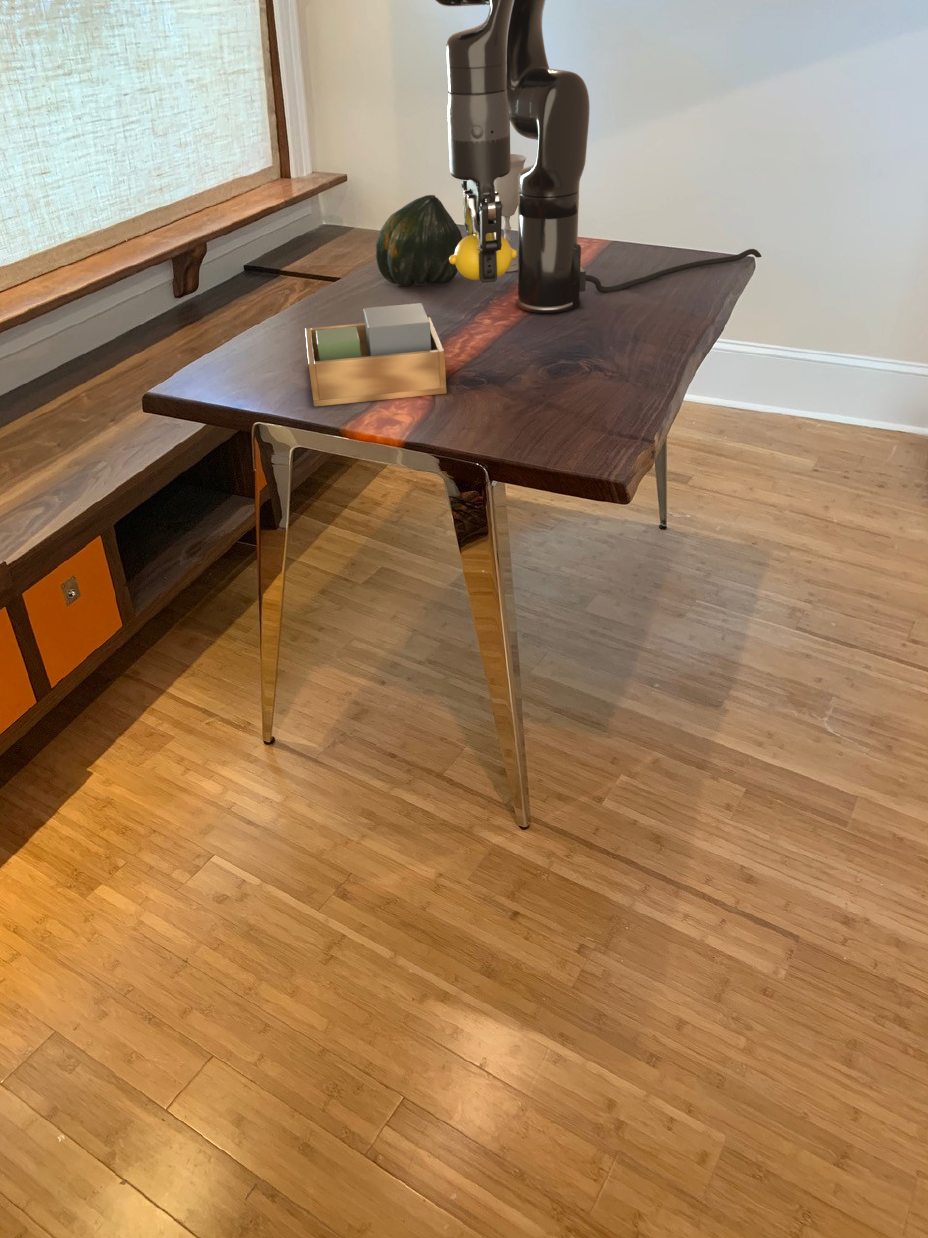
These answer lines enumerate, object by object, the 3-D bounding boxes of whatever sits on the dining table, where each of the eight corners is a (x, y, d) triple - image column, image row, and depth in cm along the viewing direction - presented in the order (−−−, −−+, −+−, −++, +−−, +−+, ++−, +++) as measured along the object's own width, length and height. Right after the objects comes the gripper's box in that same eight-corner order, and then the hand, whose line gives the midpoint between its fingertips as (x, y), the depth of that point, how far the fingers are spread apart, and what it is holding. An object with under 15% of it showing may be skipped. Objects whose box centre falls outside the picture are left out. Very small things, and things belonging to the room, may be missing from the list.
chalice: (526, 272, 168) (527, 161, 157) (488, 273, 168) (486, 163, 158) (525, 260, 174) (525, 153, 163) (488, 261, 174) (486, 154, 163)
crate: (432, 356, 137) (430, 316, 134) (446, 393, 126) (444, 351, 123) (310, 368, 135) (305, 328, 132) (314, 406, 124) (308, 364, 121)
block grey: (425, 359, 134) (421, 302, 130) (433, 380, 128) (429, 321, 123) (368, 364, 133) (363, 307, 129) (374, 386, 127) (368, 327, 122)
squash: (352, 246, 166) (380, 185, 153) (422, 233, 173) (455, 174, 160) (389, 315, 164) (420, 260, 151) (458, 299, 172) (493, 245, 159)
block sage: (360, 368, 132) (356, 326, 129) (363, 383, 128) (359, 340, 124) (321, 372, 132) (315, 330, 128) (323, 387, 127) (317, 344, 124)
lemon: (512, 268, 128) (511, 225, 124) (522, 281, 123) (521, 236, 120) (446, 275, 127) (444, 231, 123) (453, 288, 122) (451, 243, 119)
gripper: (522, 140, 109) (523, 288, 119) (497, 119, 121) (500, 256, 131) (458, 146, 108) (465, 294, 119) (438, 124, 120) (446, 261, 130)
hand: (483, 273), depth 125 cm, fingers closed on lemon, 5 cm apart
